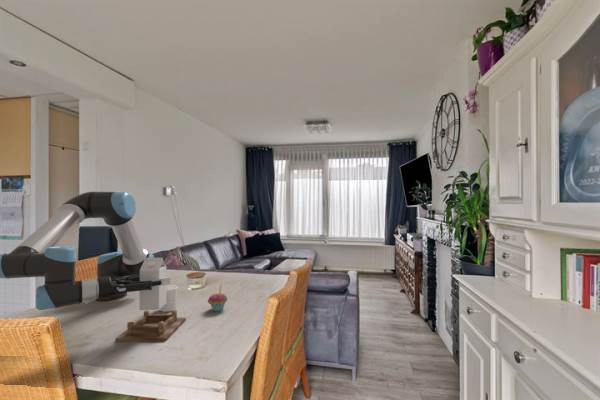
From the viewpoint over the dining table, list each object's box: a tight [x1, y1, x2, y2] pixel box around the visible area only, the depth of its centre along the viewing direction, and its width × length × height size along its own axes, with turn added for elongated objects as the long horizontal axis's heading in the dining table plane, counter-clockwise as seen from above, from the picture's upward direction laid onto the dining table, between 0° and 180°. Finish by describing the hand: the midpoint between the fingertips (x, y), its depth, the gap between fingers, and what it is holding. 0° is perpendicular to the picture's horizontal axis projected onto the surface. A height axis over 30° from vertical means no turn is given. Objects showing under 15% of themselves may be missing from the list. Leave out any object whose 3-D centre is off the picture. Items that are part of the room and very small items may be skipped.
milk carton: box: [138, 257, 167, 311], centre depth 109 cm, size 7×7×19 cm
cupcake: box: [207, 284, 228, 312], centre depth 131 cm, size 9×8×12 cm
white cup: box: [159, 284, 179, 313], centre depth 131 cm, size 8×8×10 cm
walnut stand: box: [114, 309, 187, 343], centre depth 109 cm, size 18×18×5 cm
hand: (165, 277), depth 112 cm, fingers closed on milk carton, 10 cm apart
